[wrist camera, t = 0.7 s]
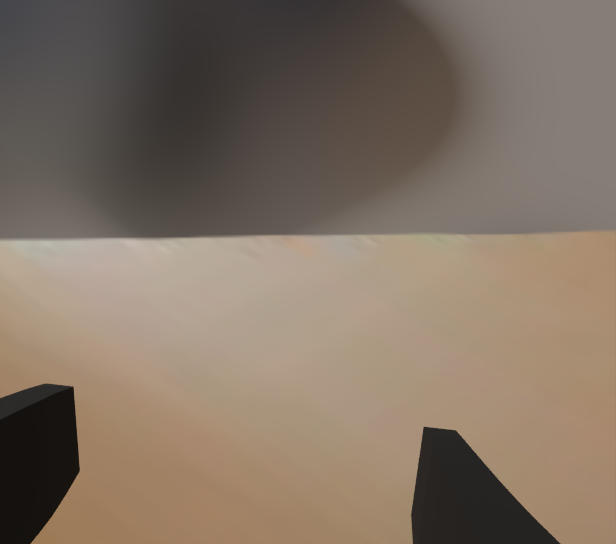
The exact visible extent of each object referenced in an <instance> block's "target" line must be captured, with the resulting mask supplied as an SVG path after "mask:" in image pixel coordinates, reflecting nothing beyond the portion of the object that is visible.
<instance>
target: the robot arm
mask: <svg viewBox="0 0 616 544" xmlns="http://www.w3.org/2000/svg"><path fill="white" fill-rule="evenodd" d="M79 471H80V468H79V454H78V441H77V428H76V415H75V401H74V388H73V387H71V386H63V385H54V384H42V385H39V386H35V387H32V388H28V389H25V390H22V391H19V392H17V393H14V394H11V395H8V396H5V397H3V398H0V544H31V542H32V541H33V540H34V539H35V537H36V536H37V535H38V534H39V532H40V531H41V530H42V529H43V527H44V526H45V525H46V523H47V522H48V521H49V519H50V518H51V517H52V515H53V514H54V512H55V511H56V509H57V508H58V506H59V504H60V503H61V501H62V500H63V498H64V497H65V495H66V493H67V492H68V490H69V488H70V487H71V485H72V483H73V481H74V480H75V478H76V476H77V475H78V473H79ZM411 517H412V534H413V544H560V543H559V542H558V541H557V540H556V539H555V538H554V537H553V536H552V535H551V534H550V533H549V532H548V531H547V530H546V529H545V528H544V527H543V526H542V525H541V524H540V523H539V522H538V521H537V520H536V519H535V518H534V517H533V516H532V515H531V514H530V513H529V512H528V511H527V510H526V509H525V508H524V507H523V506H522V505H521V504H520V503H519V502H518V501H517V500H516V498H515V497H514V496H513V495H512V494H511V493H510V492H509V491H508V490H507V489H506V488H505V486H504V485H503V484H502V483H501V482H500V481H499V480H498V479H497V478H496V476H495V475H494V474H493V473H492V472H491V471H490V470H489V468H488V467H487V466H486V465H485V464H484V463H483V461H482V460H481V459H480V458H479V457H478V456H477V454H476V453H475V452H474V451H473V450H472V449H471V447H470V446H469V445H468V444H467V443H466V442H465V440H464V439H463V438H462V437H461V436H460V435H459V434H458V432H457V431H456V430H447V429H438V428H430V427H424V429H423V436H422V443H421V450H420V457H419V464H418V471H417V478H416V485H415V492H414V499H413V506H412V513H411Z"/></svg>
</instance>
